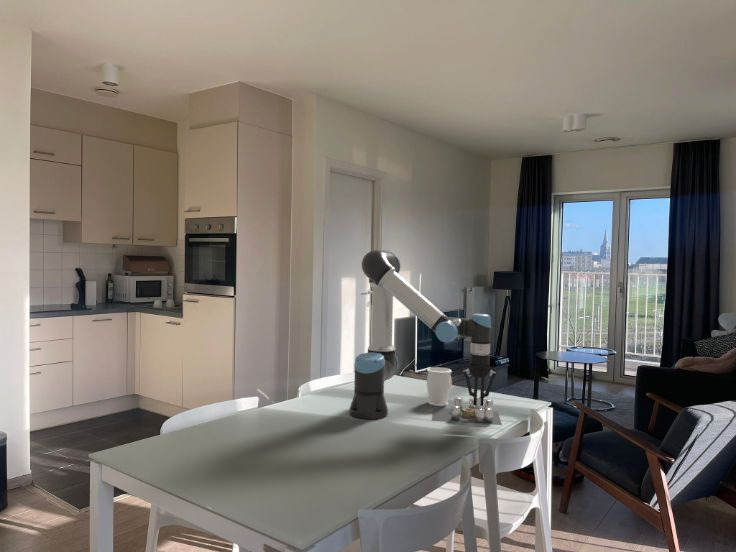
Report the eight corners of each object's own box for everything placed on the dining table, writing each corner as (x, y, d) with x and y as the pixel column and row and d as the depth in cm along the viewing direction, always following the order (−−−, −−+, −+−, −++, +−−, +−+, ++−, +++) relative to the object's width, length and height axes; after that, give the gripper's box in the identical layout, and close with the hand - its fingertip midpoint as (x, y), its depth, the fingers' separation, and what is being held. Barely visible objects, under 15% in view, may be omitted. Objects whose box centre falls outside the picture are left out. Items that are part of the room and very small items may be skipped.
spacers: (450, 421, 215) (451, 408, 215) (450, 408, 234) (451, 396, 234) (495, 424, 213) (496, 411, 213) (492, 411, 231) (492, 398, 231)
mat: (431, 422, 216) (431, 420, 216) (433, 408, 235) (433, 407, 235) (501, 426, 212) (501, 424, 212) (497, 412, 231) (497, 411, 231)
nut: (464, 417, 221) (465, 411, 221) (461, 414, 226) (461, 407, 226) (475, 417, 221) (476, 411, 221) (471, 414, 226) (472, 407, 226)
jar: (452, 408, 237) (453, 372, 236) (427, 407, 237) (428, 371, 236) (449, 401, 247) (450, 367, 247) (425, 401, 247) (426, 366, 247)
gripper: (463, 354, 219) (461, 415, 220) (498, 356, 217) (495, 417, 218) (462, 351, 227) (460, 410, 228) (496, 353, 225) (494, 412, 226)
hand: (478, 413), depth 223 cm, fingers closed
